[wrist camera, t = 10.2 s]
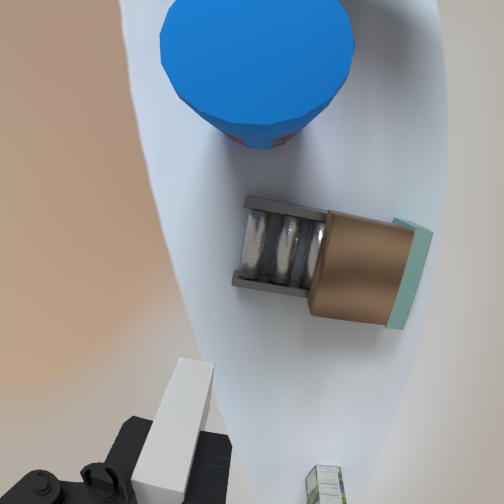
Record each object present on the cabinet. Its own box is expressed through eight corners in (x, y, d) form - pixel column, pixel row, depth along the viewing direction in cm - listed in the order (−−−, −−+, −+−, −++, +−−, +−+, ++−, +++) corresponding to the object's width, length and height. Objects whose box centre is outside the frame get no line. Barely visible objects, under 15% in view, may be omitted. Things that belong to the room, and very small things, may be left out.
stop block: (394, 217, 41) (415, 227, 34) (410, 221, 41) (433, 232, 34) (370, 305, 45) (385, 327, 38) (386, 307, 45) (403, 329, 38)
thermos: (318, 129, 38) (391, 85, 14) (242, 164, 40) (208, 165, 16) (280, 56, 36) (296, -59, 12) (204, 91, 38) (129, 10, 14)
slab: (328, 209, 38) (335, 215, 34) (401, 225, 38) (414, 232, 34) (307, 301, 41) (311, 315, 38) (377, 311, 41) (386, 325, 38)
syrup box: (328, 480, 56) (336, 532, 42) (304, 478, 56) (308, 532, 42) (340, 466, 55) (350, 520, 41) (314, 464, 54) (321, 520, 41)
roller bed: (246, 196, 41) (245, 198, 38) (392, 224, 41) (401, 229, 38) (233, 277, 44) (231, 285, 41) (372, 298, 44) (379, 307, 41)
